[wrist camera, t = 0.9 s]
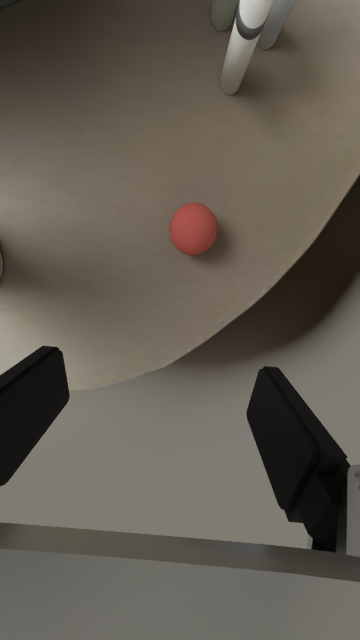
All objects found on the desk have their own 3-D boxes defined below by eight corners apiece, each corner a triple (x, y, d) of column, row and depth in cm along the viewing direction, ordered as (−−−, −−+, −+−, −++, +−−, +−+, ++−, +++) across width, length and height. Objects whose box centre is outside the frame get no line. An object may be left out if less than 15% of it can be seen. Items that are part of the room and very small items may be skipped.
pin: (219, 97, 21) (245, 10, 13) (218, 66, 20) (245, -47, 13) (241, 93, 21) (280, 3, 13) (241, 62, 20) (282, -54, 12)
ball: (173, 256, 28) (173, 259, 22) (167, 211, 26) (165, 201, 20) (213, 251, 28) (223, 252, 22) (211, 204, 25) (220, 193, 20)
